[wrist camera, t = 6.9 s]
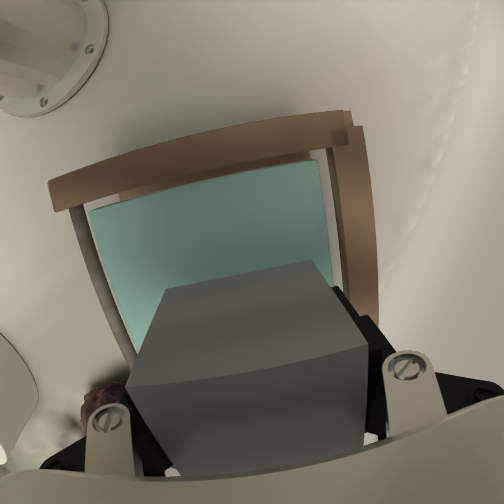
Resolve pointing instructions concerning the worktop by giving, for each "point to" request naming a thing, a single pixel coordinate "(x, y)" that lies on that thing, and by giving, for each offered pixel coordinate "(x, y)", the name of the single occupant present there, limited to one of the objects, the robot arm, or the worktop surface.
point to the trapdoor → (210, 234)
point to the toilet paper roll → (14, 397)
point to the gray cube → (252, 372)
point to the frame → (229, 162)
